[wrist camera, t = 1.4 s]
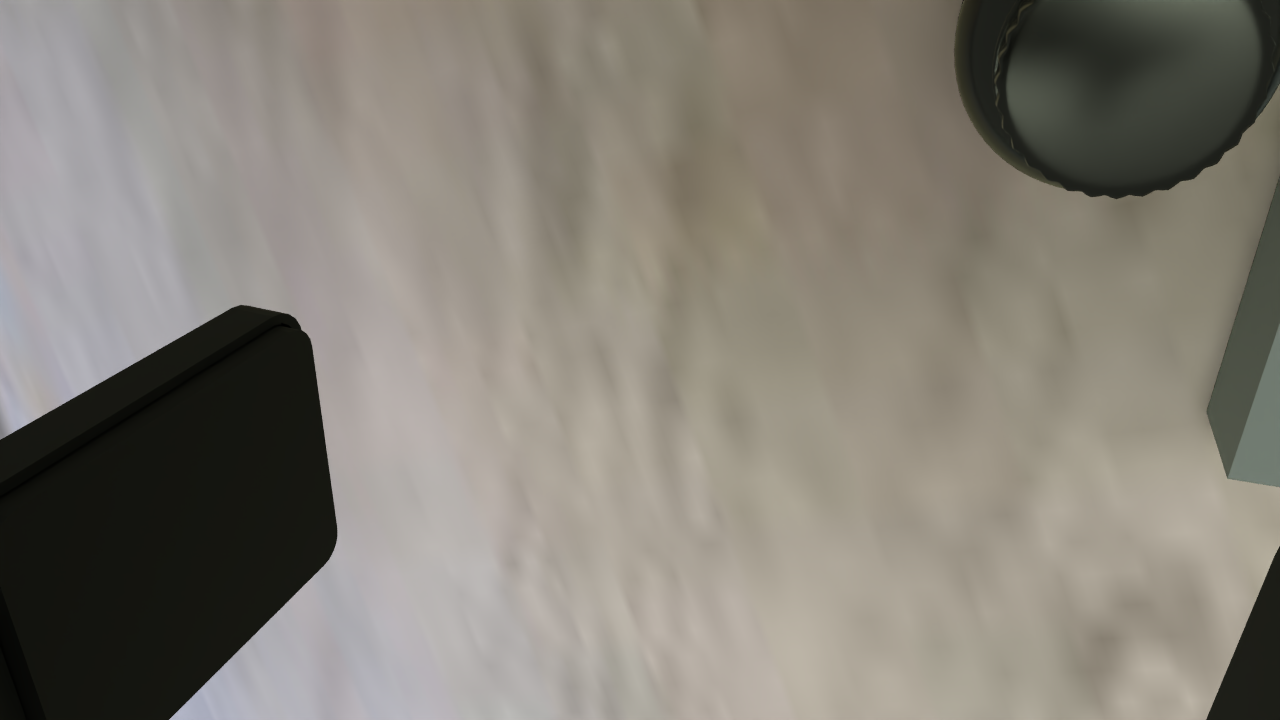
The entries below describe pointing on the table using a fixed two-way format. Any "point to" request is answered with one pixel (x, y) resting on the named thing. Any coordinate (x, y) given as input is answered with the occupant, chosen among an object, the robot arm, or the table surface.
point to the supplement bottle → (1115, 85)
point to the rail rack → (1253, 371)
